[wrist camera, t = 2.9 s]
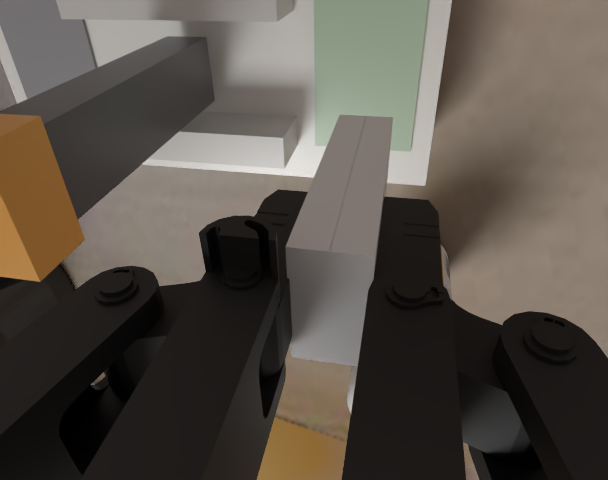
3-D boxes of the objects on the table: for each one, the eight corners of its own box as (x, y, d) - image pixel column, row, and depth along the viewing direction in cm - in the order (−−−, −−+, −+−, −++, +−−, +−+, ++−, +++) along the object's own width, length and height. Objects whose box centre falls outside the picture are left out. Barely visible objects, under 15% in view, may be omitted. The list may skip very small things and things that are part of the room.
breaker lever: (172, 106, 24) (-49, 270, 13) (157, 26, 22) (-126, 139, 10) (223, 108, 23) (40, 281, 12) (213, 27, 21) (-21, 147, 10)
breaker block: (99, 118, 35) (2, 177, 27) (45, -74, 28) (-108, -72, 20) (424, 136, 30) (425, 214, 22) (454, -86, 23) (471, -89, 15)
